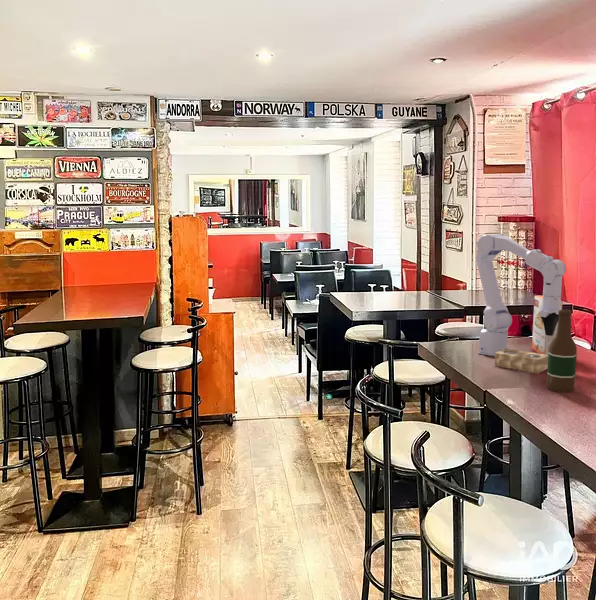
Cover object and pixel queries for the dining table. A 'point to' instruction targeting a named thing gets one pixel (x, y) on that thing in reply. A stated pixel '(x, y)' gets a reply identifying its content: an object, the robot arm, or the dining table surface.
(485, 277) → the robot arm
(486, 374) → the dining table surface
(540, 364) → the socket block
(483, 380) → the dining table surface
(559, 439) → the dining table surface
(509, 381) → the dining table surface
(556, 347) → the beer bottle
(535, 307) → the cracker box
